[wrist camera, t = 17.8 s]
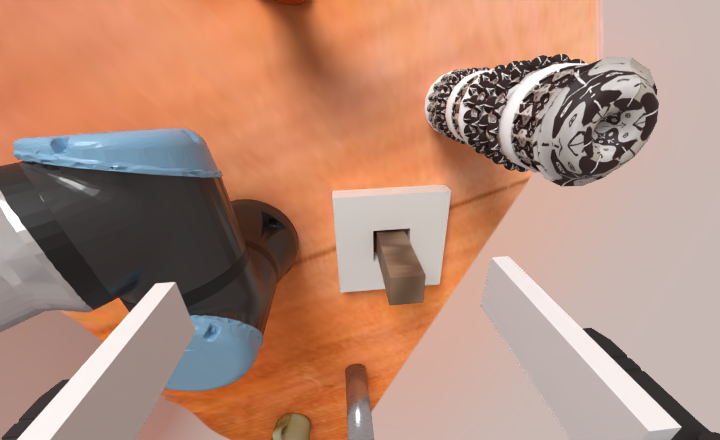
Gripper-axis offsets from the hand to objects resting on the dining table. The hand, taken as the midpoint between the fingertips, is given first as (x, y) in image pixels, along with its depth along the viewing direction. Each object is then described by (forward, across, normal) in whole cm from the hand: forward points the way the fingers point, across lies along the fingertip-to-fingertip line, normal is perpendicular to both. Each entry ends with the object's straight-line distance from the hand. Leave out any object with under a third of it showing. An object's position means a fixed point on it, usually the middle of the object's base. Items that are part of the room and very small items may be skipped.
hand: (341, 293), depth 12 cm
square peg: (+32, +8, -16) cm, 36 cm away
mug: (+32, -16, -67) cm, 76 cm away
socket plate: (+32, +8, -16) cm, 36 cm away
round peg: (+32, +1, -51) cm, 60 cm away
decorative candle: (+32, +17, +5) cm, 36 cm away
